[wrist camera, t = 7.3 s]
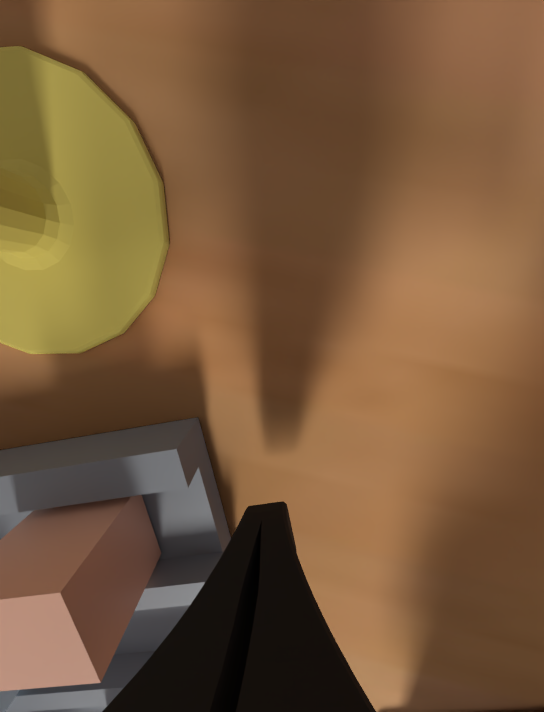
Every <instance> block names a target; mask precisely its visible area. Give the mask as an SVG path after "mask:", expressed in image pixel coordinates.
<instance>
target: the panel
mask: <svg viewBox="0 0 544 712" xmlns="http://www.w3.org/2000/svg"><path fill="white" fill-rule="evenodd" d="M137 495H142V498H143V501H144V503H145V506H146V509H147V512H148V515H149V518H150V521H151V524H152V527H153V530H154V533H155V536H156V539H157V542H158V545H159V548H160V550H161V556H160V558H159V560H158V562H157V564H156V566H155V568H154V570H153V573H152V575H151V577H150V579H149V581H148V583H147V585H146V587H145V590H144V592H143V594H142V596H141V598H140V600H139V602H138V605H137V607H136V609H135V611H134V613H133V615H132V617H131V619H130V622H129V624H128V626H127V628H126V630H125V632H124V634H123V636H122V639H121V641H120V643H119V645H118V647H117V649H116V651H115V654H114V656H113V658H112V660H111V662H110V664H109V666H108V668H107V671H106V673H105V675H104V677H103V679H102V681H101V683H93V684H81V685H69V686H58V687H46V688H34V689H22V690H19V692H18V693H17V695H16V696H15V698H14V699H13V701H12V702H11V704H10V705H9V707H8V708H7V710H6V711H5V712H102V711H103V710H104V709H105V708H106V707H107V706H108V705H109V704H110V702H111V701H112V700H113V699H114V698H115V697H116V696H117V695H118V694H119V692H120V691H121V690H122V689H123V688H124V687H125V686H126V685H127V684H128V682H129V681H130V680H131V679H132V678H133V677H134V676H135V675H136V674H137V672H138V671H139V670H140V669H141V668H142V666H143V665H144V664H145V663H146V662H147V660H148V659H149V658H150V657H151V656H152V654H153V653H154V652H155V651H156V649H157V648H158V647H159V646H160V644H161V643H162V642H163V641H164V639H165V638H166V637H167V636H168V634H169V633H170V632H171V630H172V629H173V628H174V626H175V625H176V624H177V622H178V621H179V620H180V618H181V617H182V616H183V614H184V613H185V612H186V610H187V609H188V607H189V606H190V604H191V603H192V602H193V600H194V599H195V597H196V596H197V594H198V593H199V591H200V590H201V588H202V587H203V585H204V583H205V582H206V580H207V579H208V577H209V575H210V574H211V572H212V571H213V569H214V568H215V566H216V564H217V563H218V561H219V559H220V557H221V556H222V554H223V552H224V550H225V549H226V547H227V545H228V543H229V542H230V540H231V536H230V532H229V529H228V525H227V521H226V518H225V514H224V510H223V507H222V503H221V499H220V496H219V492H218V488H217V485H216V481H215V477H214V474H213V470H212V466H211V463H210V459H209V455H208V452H207V448H206V444H205V441H204V437H203V433H202V430H201V426H200V422H199V419H198V417H197V418H191V419H185V420H179V421H173V422H167V423H161V424H155V425H149V426H143V427H137V428H131V429H125V430H119V431H113V432H107V433H101V434H95V435H89V436H83V437H77V438H71V439H65V440H59V441H53V442H47V443H41V444H35V445H29V446H23V447H17V448H11V449H5V450H0V540H1V539H2V538H3V537H4V536H5V535H6V534H7V533H9V532H10V531H11V530H12V529H13V528H14V527H15V526H17V525H18V524H19V523H20V522H21V521H22V520H23V519H25V518H26V517H27V516H28V515H29V514H30V513H31V512H33V511H34V510H40V509H47V508H54V507H61V506H68V505H75V504H81V503H88V502H95V501H102V500H109V499H116V498H123V497H130V496H137Z"/></svg>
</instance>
